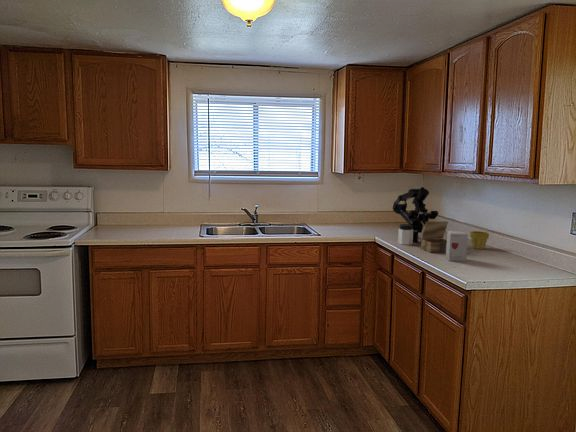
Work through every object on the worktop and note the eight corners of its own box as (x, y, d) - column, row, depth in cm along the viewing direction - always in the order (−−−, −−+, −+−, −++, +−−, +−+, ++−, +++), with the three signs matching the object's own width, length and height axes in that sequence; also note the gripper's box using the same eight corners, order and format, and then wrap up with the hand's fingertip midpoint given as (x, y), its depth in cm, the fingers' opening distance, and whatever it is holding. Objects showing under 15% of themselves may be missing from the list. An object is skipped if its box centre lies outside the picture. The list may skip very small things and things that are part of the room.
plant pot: (479, 246, 302) (480, 230, 301) (491, 249, 292) (492, 233, 291) (465, 247, 298) (466, 231, 297) (478, 250, 289) (479, 234, 288)
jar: (398, 244, 304) (399, 225, 302) (397, 242, 312) (398, 223, 310) (412, 245, 302) (413, 226, 300) (412, 242, 310) (413, 224, 308)
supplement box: (448, 261, 258) (450, 233, 256) (445, 257, 267) (446, 230, 265) (466, 261, 257) (468, 233, 255) (462, 258, 265) (464, 231, 264)
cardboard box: (420, 248, 290) (421, 239, 289) (441, 248, 293) (442, 238, 292) (430, 253, 278) (431, 243, 278) (452, 252, 281) (453, 242, 281)
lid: (421, 239, 289) (421, 238, 290) (442, 238, 292) (442, 237, 293) (426, 222, 283) (426, 221, 283) (448, 221, 286) (447, 221, 286)
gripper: (427, 213, 314) (434, 233, 305) (400, 212, 309) (407, 233, 300) (435, 202, 305) (442, 223, 296) (408, 202, 300) (415, 222, 292)
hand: (426, 225), depth 296 cm, fingers closed
